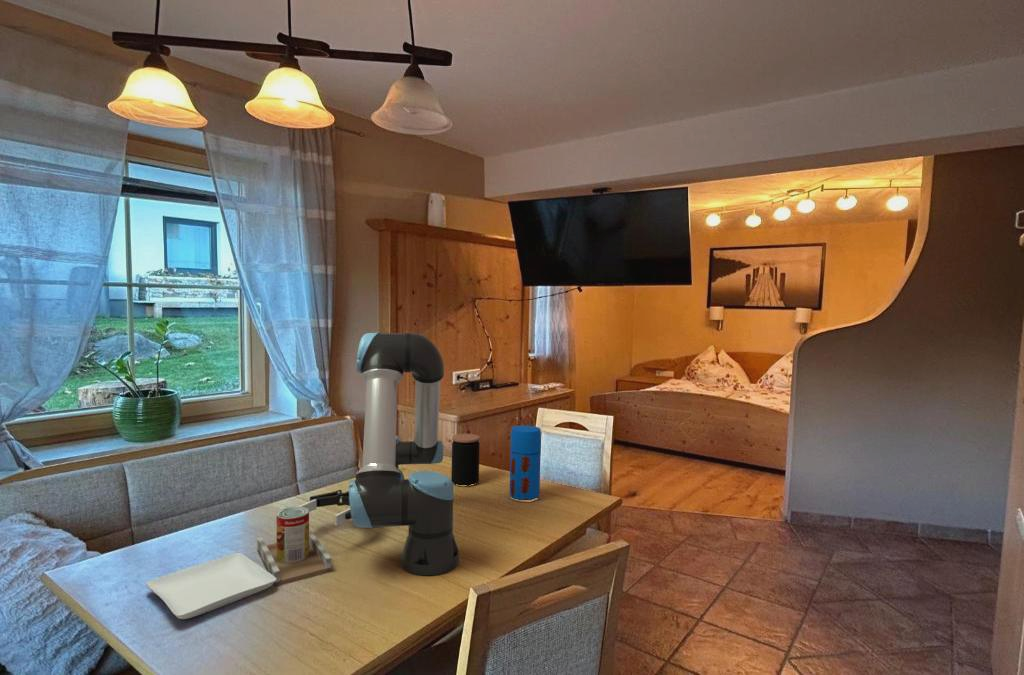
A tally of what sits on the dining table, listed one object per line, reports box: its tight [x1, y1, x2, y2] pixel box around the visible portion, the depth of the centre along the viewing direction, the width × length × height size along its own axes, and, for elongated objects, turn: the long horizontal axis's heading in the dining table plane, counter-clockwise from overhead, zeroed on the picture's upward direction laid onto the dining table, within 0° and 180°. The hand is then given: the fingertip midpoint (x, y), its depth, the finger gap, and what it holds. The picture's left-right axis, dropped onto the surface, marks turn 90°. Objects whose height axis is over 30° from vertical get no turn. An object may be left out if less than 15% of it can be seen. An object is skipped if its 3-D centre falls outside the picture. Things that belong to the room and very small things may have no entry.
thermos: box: [509, 425, 542, 500], centre depth 188 cm, size 11×11×25 cm
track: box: [256, 528, 332, 587], centre depth 138 cm, size 22×13×4 cm, turn 35°
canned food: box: [276, 506, 310, 564], centre depth 138 cm, size 8×8×12 cm
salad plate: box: [145, 552, 277, 620], centre depth 122 cm, size 21×21×3 cm
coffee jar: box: [450, 433, 481, 485], centre depth 203 cm, size 11×11×18 cm
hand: (316, 516), depth 145 cm, fingers open, 13 cm apart
